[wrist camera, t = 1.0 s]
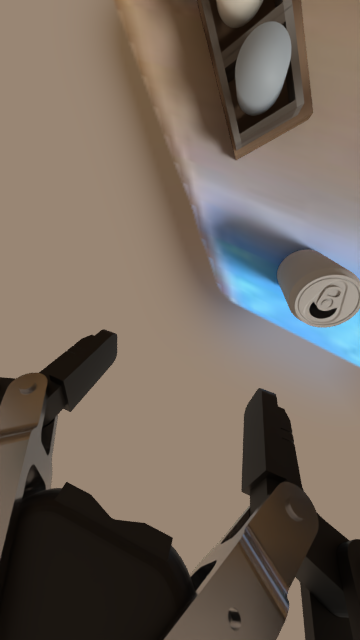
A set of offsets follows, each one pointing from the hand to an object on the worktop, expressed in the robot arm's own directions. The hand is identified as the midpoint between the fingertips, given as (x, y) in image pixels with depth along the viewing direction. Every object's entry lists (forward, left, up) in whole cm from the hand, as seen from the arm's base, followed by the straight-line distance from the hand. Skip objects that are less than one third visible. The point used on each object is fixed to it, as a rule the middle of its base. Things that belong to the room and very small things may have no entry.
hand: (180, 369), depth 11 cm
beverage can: (-6, +10, -26) cm, 28 cm away
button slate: (-16, -8, -21) cm, 27 cm away
